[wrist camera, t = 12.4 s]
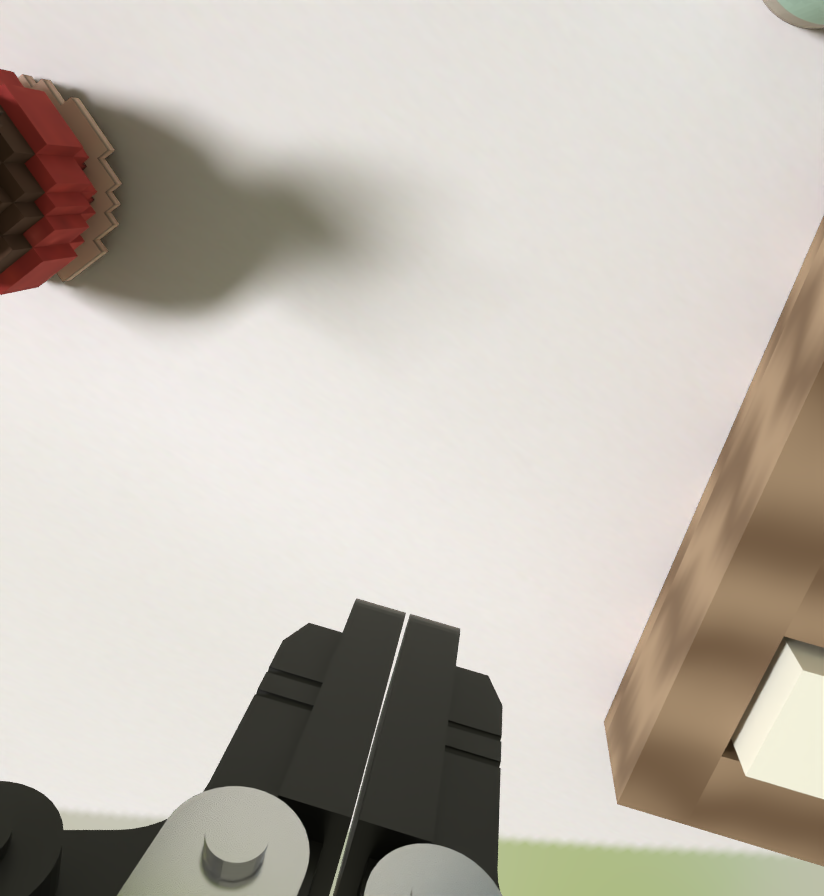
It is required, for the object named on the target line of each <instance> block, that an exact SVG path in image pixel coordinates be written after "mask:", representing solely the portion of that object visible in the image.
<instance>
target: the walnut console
mask: <svg viewBox="0 0 824 896" xmlns="http://www.w3.org/2000/svg"><path fill="white" fill-rule="evenodd" d="M784 636H785V637H788V638H792V639H795V640H799V641H802V642H805V643H809V644H812V645H816V646H819V647H823V648H824V216H823V219H822V221H821V223H820V226H819V228H818V230H817V232H816V235H815V237H814V239H813V242H812V244H811V246H810V249H809V251H808V253H807V256H806V258H805V260H804V262H803V265H802V267H801V269H800V272H799V274H798V276H797V279H796V281H795V283H794V285H793V288H792V290H791V292H790V295H789V297H788V299H787V302H786V304H785V306H784V309H783V311H782V313H781V315H780V318H779V320H778V322H777V325H776V327H775V329H774V332H773V334H772V336H771V338H770V341H769V343H768V345H767V348H766V350H765V352H764V355H763V357H762V359H761V361H760V364H759V366H758V368H757V371H756V373H755V375H754V378H753V380H752V382H751V385H750V387H749V389H748V391H747V394H746V396H745V398H744V401H743V403H742V405H741V408H740V410H739V412H738V414H737V417H736V419H735V421H734V424H733V426H732V428H731V431H730V433H729V435H728V438H727V440H726V442H725V444H724V447H723V449H722V451H721V454H720V456H719V458H718V461H717V463H716V465H715V467H714V470H713V472H712V474H711V477H710V479H709V481H708V484H707V486H706V488H705V491H704V493H703V495H702V497H701V500H700V502H699V504H698V507H697V509H696V511H695V514H694V516H693V518H692V520H691V523H690V525H689V527H688V530H687V532H686V534H685V537H684V539H683V541H682V544H681V546H680V548H679V550H678V553H677V555H676V557H675V560H674V562H673V564H672V567H671V569H670V571H669V573H668V576H667V578H666V580H665V583H664V585H663V587H662V590H661V592H660V594H659V596H658V599H657V601H656V603H655V606H654V608H653V610H652V613H651V615H650V617H649V620H648V622H647V624H646V626H645V629H644V631H643V633H642V636H641V638H640V640H639V643H638V645H637V647H636V649H635V652H634V654H633V656H632V659H631V661H630V663H629V666H628V668H627V670H626V673H625V675H624V677H623V679H622V682H621V684H620V686H619V689H618V691H617V693H616V696H615V698H614V700H613V702H612V705H611V707H610V709H609V712H608V714H607V716H606V719H605V721H604V725H605V731H606V737H607V743H608V750H609V756H610V762H611V768H612V774H613V781H614V787H615V793H616V799H617V804H619V805H622V806H626V807H629V808H632V809H636V810H639V811H642V812H646V813H649V814H652V815H655V816H659V817H662V818H665V819H669V820H672V821H675V822H679V823H682V824H685V825H689V826H692V827H695V828H698V829H702V830H705V831H708V832H712V833H715V834H718V835H722V836H725V837H728V838H732V839H735V840H738V841H742V842H745V843H748V844H751V845H755V846H758V847H761V848H765V849H768V850H771V851H775V852H778V853H781V854H785V855H788V856H791V857H794V858H798V859H801V860H804V861H808V862H811V863H814V864H818V865H821V866H824V799H821V798H818V797H814V796H811V795H807V794H804V793H801V792H797V791H794V790H791V789H787V788H784V787H781V786H777V785H774V784H771V783H767V782H764V781H761V780H757V779H754V778H750V777H747V776H745V773H744V771H743V768H742V765H741V763H740V760H739V758H738V755H737V752H736V750H735V747H734V745H733V742H732V739H731V737H732V735H733V733H734V731H735V729H736V727H737V725H738V724H739V722H740V720H741V718H742V716H743V714H744V712H745V710H746V708H747V706H748V704H749V702H750V700H751V699H752V697H753V695H754V693H755V691H756V689H757V687H758V685H759V683H760V681H761V679H762V677H763V675H764V673H765V672H766V670H767V668H768V666H769V664H770V662H771V660H772V658H773V656H774V654H775V652H776V650H777V648H778V646H779V645H780V643H781V641H782V639H783V637H784Z"/></svg>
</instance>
